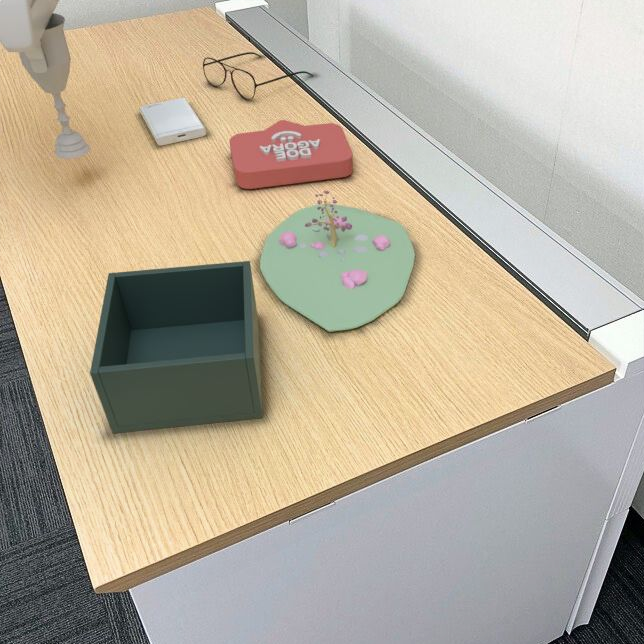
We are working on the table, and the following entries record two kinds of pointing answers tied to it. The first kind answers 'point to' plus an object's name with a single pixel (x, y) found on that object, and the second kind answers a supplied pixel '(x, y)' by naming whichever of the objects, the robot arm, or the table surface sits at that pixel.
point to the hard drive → (172, 121)
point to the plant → (338, 264)
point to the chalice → (58, 85)
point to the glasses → (244, 71)
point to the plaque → (290, 154)
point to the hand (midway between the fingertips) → (46, 59)
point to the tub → (178, 347)
